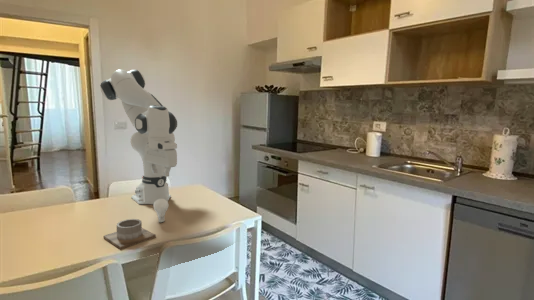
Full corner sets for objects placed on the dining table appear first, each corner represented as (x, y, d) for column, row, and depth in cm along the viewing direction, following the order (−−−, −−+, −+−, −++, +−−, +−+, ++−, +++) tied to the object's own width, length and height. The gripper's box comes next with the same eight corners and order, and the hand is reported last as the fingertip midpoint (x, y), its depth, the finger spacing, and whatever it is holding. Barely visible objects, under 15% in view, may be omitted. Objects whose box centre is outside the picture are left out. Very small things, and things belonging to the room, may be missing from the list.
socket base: (103, 238, 118) (102, 223, 117) (137, 227, 129) (137, 214, 128) (120, 249, 109) (119, 233, 108) (155, 237, 120) (155, 222, 119)
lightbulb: (154, 226, 131) (154, 201, 129) (153, 220, 137) (152, 197, 135) (169, 223, 134) (169, 199, 132) (167, 218, 139) (167, 196, 138)
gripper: (140, 141, 134) (141, 172, 136) (166, 146, 121) (167, 179, 123) (153, 140, 139) (154, 170, 141) (179, 144, 126) (180, 177, 128)
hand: (160, 174), depth 132 cm, fingers open, 8 cm apart
